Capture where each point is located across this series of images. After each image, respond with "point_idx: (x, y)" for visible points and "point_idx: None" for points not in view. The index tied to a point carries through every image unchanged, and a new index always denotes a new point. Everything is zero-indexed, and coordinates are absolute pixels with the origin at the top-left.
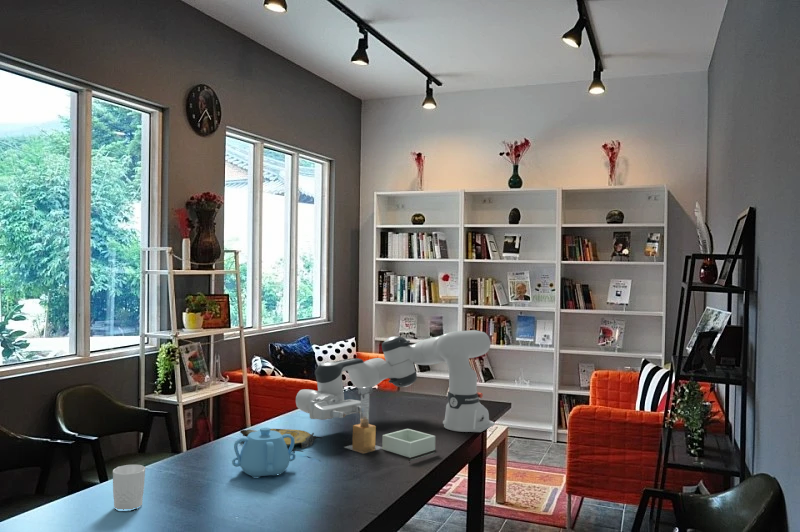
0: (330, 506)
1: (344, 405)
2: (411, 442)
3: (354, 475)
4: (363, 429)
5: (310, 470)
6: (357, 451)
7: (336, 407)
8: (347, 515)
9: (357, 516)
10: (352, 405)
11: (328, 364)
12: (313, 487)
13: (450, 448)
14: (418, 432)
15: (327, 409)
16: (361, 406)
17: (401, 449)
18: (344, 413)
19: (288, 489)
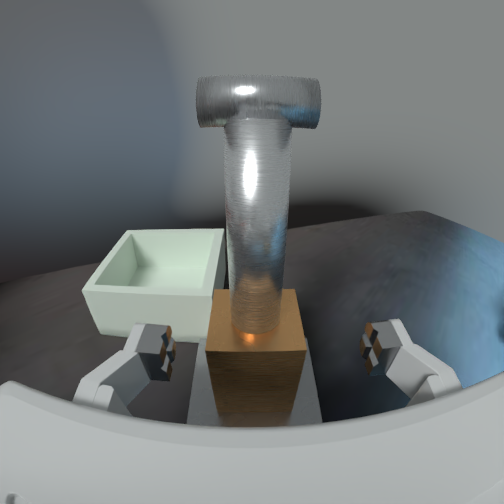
0: (448, 236)
1: (277, 438)
2: (216, 229)
3: (392, 277)
4: (294, 295)
5: (471, 333)
6: (309, 363)
7: (418, 406)
8: (433, 221)
9: (424, 217)
10: (147, 420)
11: None
12: (467, 275)
13: (87, 267)
14: (112, 257)
15: (500, 374)
16: (287, 213)
17: (222, 266)
18: (375, 323)
19: (499, 285)
